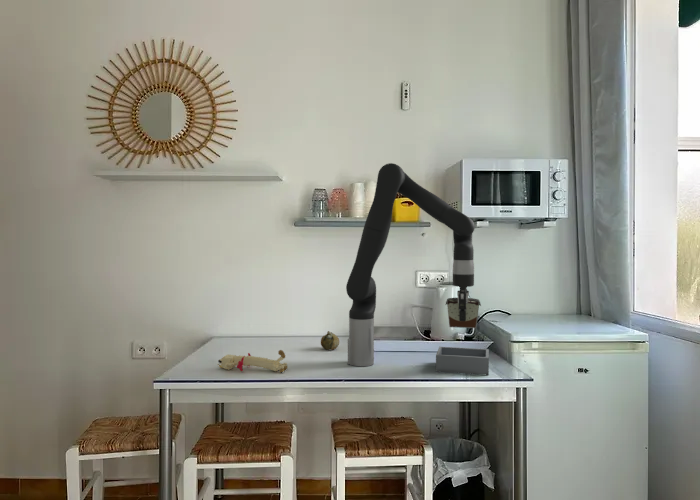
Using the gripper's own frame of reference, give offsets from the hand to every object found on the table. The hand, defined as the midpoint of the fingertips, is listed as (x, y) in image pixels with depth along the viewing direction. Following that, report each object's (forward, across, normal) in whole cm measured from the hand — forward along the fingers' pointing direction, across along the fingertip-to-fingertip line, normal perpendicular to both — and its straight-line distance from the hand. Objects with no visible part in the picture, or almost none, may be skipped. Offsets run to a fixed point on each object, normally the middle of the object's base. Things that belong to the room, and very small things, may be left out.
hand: (462, 319), depth 195 cm
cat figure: (+18, -20, +73) cm, 78 cm away
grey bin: (+18, 0, 0) cm, 18 cm away
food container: (+3, +1, 0) cm, 3 cm away
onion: (+18, +18, +55) cm, 61 cm away
